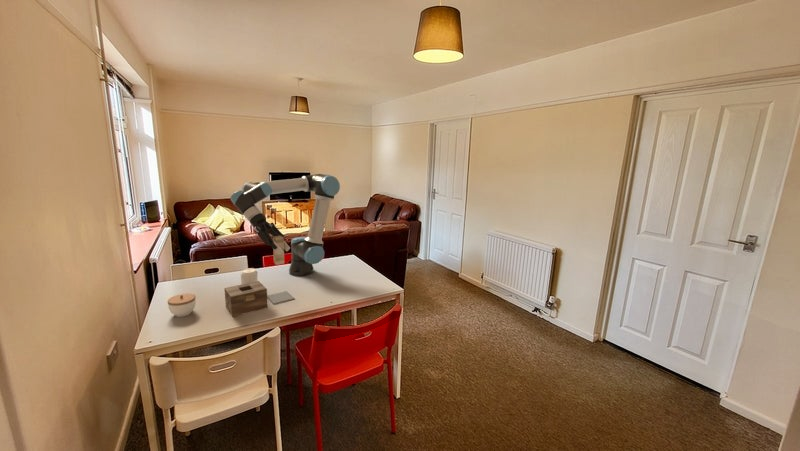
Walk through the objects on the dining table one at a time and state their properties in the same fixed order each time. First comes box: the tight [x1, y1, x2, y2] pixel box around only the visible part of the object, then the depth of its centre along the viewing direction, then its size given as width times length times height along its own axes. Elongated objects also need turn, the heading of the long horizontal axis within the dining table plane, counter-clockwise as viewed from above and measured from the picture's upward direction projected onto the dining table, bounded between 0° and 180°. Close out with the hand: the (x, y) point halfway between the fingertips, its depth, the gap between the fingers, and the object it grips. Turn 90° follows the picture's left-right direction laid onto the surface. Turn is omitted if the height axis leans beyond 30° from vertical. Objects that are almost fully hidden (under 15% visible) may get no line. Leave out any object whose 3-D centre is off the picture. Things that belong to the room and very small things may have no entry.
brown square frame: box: [223, 280, 268, 317], centre depth 157 cm, size 13×16×10 cm
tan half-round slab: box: [240, 267, 259, 285], centre depth 176 cm, size 8×8×12 cm
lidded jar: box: [167, 293, 197, 318], centre depth 149 cm, size 11×11×9 cm
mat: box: [267, 290, 295, 305], centre depth 170 cm, size 11×11×1 cm
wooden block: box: [272, 236, 285, 266], centre depth 165 cm, size 4×4×14 cm
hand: (285, 251), depth 164 cm, fingers closed on wooden block, 6 cm apart
